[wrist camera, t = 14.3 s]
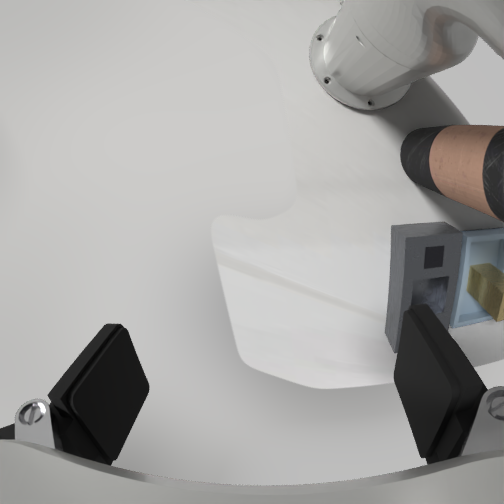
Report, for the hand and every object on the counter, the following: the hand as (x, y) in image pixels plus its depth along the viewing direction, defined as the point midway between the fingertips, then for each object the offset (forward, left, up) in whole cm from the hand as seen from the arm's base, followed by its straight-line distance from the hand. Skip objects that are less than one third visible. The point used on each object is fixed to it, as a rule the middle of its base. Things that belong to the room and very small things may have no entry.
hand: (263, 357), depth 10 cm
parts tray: (+13, +29, -28) cm, 43 cm away
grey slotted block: (+12, +18, -28) cm, 36 cm away
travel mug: (-4, +19, -28) cm, 34 cm away
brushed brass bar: (+13, +29, -28) cm, 42 cm away
